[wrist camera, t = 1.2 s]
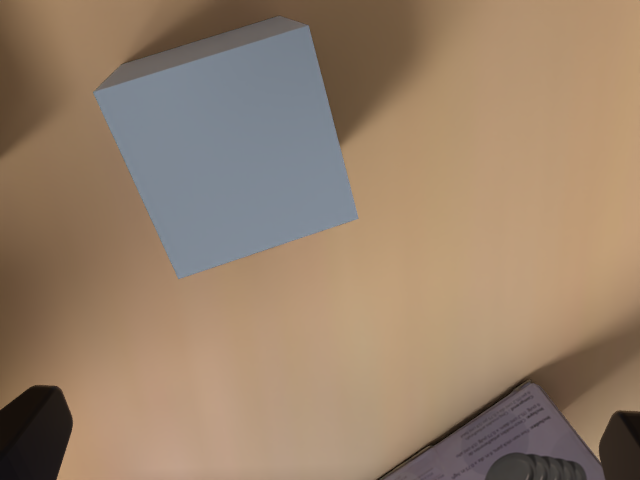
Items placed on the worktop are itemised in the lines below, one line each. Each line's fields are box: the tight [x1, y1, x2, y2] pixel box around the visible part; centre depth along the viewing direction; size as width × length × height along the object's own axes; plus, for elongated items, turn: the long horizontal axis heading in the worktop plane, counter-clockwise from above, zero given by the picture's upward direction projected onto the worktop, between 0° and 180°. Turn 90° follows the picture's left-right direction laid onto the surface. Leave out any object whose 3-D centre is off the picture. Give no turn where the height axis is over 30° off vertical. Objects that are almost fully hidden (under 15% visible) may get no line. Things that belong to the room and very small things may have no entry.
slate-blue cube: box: [93, 16, 359, 279], centre depth 18 cm, size 6×6×6 cm
